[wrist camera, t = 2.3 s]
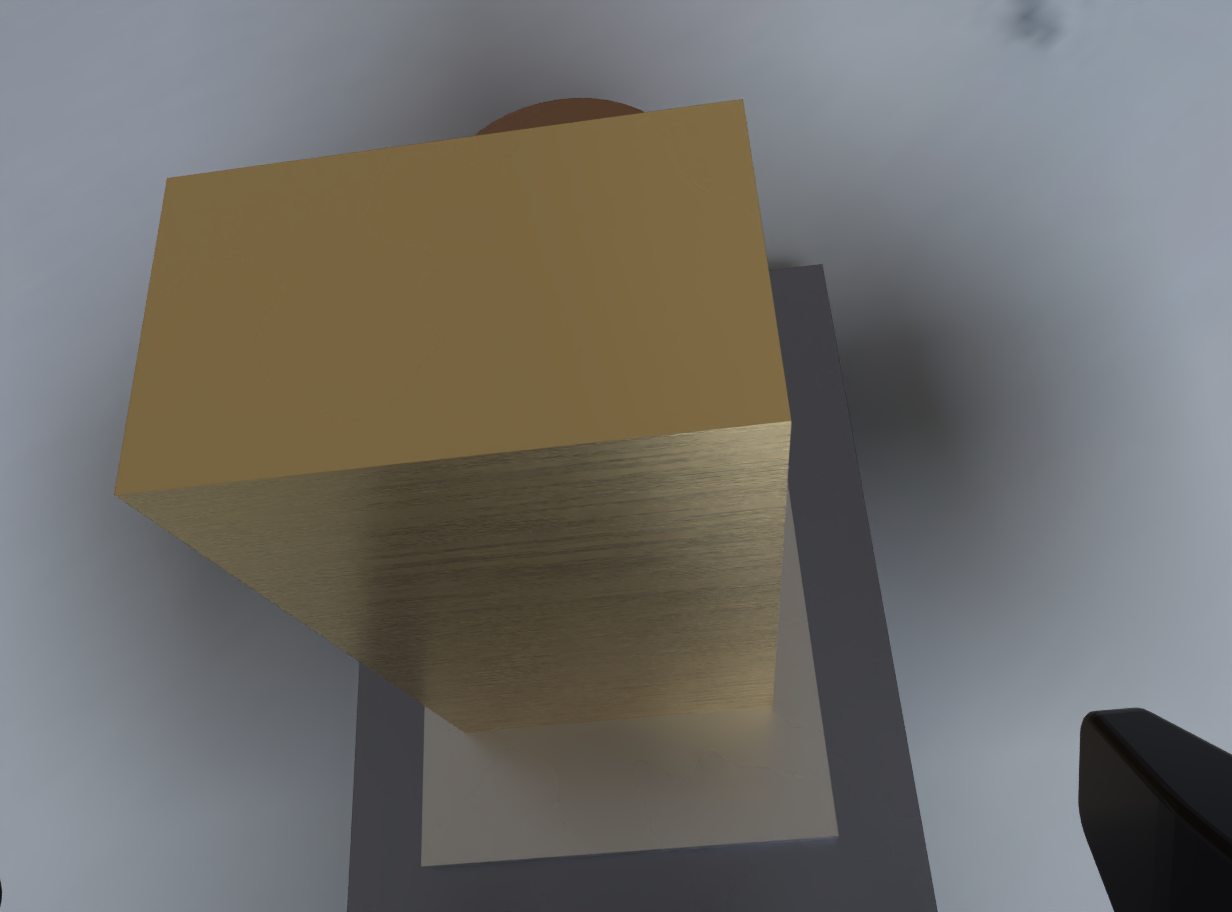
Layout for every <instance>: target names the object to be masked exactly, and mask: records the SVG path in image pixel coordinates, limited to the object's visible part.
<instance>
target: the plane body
mask: <svg viewBox="0 0 1232 912" xmlns="http://www.w3.org/2000/svg"><path fill="white" fill-rule="evenodd" d="M638 113H645V112H643V111H641V110H639V109H636V108H633V107H631V106H628V105H625V104H622V103H617V102H613V101H608V100H601V99H592V98H571V99H560V100H554V101H548V102H543V103H539V104H536V105H532V106H529V107H525V108H523V109H520V110H518V111H515V112H513V113H510V114H508V115H506V116H504V117H503V118H501V119H499V120H497V121H495V122H493V123H492V124H490V125H489V126H487V127H486V128H484V129H483V130H481V131H480V132H479V133H477V134H476V135H475V136H478V135H485V134H493V133H500V132H507V131H514V130H522V129H529V128H536V127H544V126H551V125H558V124H565V123H573V122H580V121H587V120H594V119H602V118H609V117H616V116H624V115H631V114H638ZM769 276H770V282H771V289H772V296H773V302H774V309H775V316H776V322H777V329H778V336H779V342H780V349H781V356H782V362H783V369H784V376H785V382H786V389H787V396H788V402H789V409H790V416H791V433H790V448H789V463H788V479H787V494H786V509H785V524H784V540H783V555H782V570H781V586H780V601H779V616H778V631H777V647H776V662H775V677H774V692H773V706H771V707H759V708H747V709H735V710H724V711H712V712H700V713H688V714H676V715H665V716H653V717H641V718H629V719H617V720H606V721H594V722H582V723H570V724H558V725H547V726H535V727H523V728H511V729H499V730H488V731H476V732H462V731H461V730H459V729H458V728H456V727H455V726H453V725H452V724H451V723H449V722H448V721H446V720H445V719H443V718H442V717H440V716H439V715H437V714H436V713H434V712H433V711H431V710H430V709H428V708H427V707H426V706H424V705H423V704H421V703H420V702H418V701H417V700H415V699H414V698H412V697H411V696H409V695H408V694H406V693H405V692H403V691H402V690H401V689H399V688H398V687H396V686H395V685H393V684H392V683H390V682H389V681H387V680H386V679H384V678H383V677H381V676H380V675H378V674H377V673H376V672H374V671H373V670H371V669H370V668H368V667H367V666H365V665H364V664H362V663H361V662H360V667H359V687H358V707H357V727H356V747H355V767H354V787H353V807H352V827H351V847H350V867H349V887H348V907H347V912H938V911H937V906H936V900H935V895H934V889H933V883H932V878H931V872H930V866H929V861H928V855H927V850H926V844H925V838H924V833H923V827H922V822H921V816H920V810H919V805H918V799H917V793H916V788H915V782H914V777H913V771H912V765H911V760H910V754H909V749H908V743H907V737H906V732H905V726H904V720H903V715H902V709H901V704H900V698H899V692H898V687H897V681H896V675H895V670H894V664H893V659H892V653H891V647H890V642H889V636H888V631H887V625H886V619H885V614H884V608H883V602H882V597H881V591H880V586H879V580H878V574H877V569H876V563H875V558H874V552H873V546H872V541H871V535H870V529H869V524H868V518H867V513H866V507H865V501H864V496H863V490H862V485H861V479H860V473H859V468H858V462H857V456H856V451H855V445H854V440H853V434H852V428H851V423H850V417H849V412H848V406H847V400H846V395H845V389H844V383H843V378H842V372H841V367H840V361H839V355H838V350H837V344H836V339H835V333H834V327H833V322H832V316H831V310H830V305H829V299H828V294H827V288H826V282H825V277H824V271H823V266H822V264H819V265H811V266H803V267H795V268H787V269H778V270H770V271H769Z"/></svg>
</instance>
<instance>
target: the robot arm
mask: <svg viewBox="0 0 1232 912" xmlns="http://www.w3.org/2000/svg"><path fill="white" fill-rule="evenodd" d="M1078 804H1079V813H1080V818H1081V823H1082V827H1083V831H1084V834H1085V837H1086V839H1087V842H1088V845H1089V847H1090V850H1091V852H1092V855H1093V858H1094V860H1095V863H1096V866H1097V868H1098V871H1099V873H1100V876H1101V879H1102V881H1103V884H1104V886H1105V889H1106V892H1107V894H1108V897H1109V899H1110V902H1111V905H1112V907H1113V910H1114V912H1232V754H1230V753H1228V752H1226V751H1224V750H1222V749H1220V748H1218V747H1216V746H1215V745H1213V744H1211V743H1209V742H1207V741H1205V740H1203V739H1201V738H1199V737H1197V736H1195V735H1194V734H1192V733H1190V732H1188V731H1186V730H1184V729H1182V728H1180V727H1178V726H1176V725H1175V724H1173V723H1171V722H1169V721H1167V720H1165V719H1163V718H1161V717H1159V716H1157V715H1156V714H1154V713H1152V712H1150V711H1147V710H1145V709H1142V708H1125V709H1113V710H1101V711H1092V712H1090V713H1088V714H1087V715H1086V716H1085V717H1084V719H1083V722H1082V725H1081V730H1080V759H1079V794H1078ZM1 900H2V887H1V881H0V905H1Z"/></svg>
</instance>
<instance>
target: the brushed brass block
mask: <svg viewBox="0 0 1232 912" xmlns="http://www.w3.org/2000/svg"><path fill="white" fill-rule="evenodd" d="M790 433H791V416H790V409H789V402H788V396H787V389H786V382H785V376H784V369H783V362H782V356H781V349H780V342H779V336H778V329H777V322H776V316H775V309H774V302H773V296H772V289H771V282H770V276H769V269H768V262H767V256H766V249H765V242H764V236H763V229H762V222H761V216H760V209H759V202H758V196H757V189H756V182H755V176H754V169H753V162H752V156H751V149H750V142H749V136H748V129H747V122H746V116H745V109H744V102H743V99H740V100H733V101H726V102H718V103H711V104H704V105H696V106H689V107H682V108H675V109H667V110H660V111H653V112H645V113H638V114H631V115H624V116H616V117H609V118H602V119H594V120H587V121H580V122H573V123H565V124H558V125H551V126H544V127H536V128H529V129H522V130H514V131H507V132H500V133H493V134H485V135H478V136H471V137H463V138H456V139H449V140H442V141H434V142H427V143H420V144H413V145H405V146H398V147H391V148H383V149H376V150H369V151H362V152H354V153H347V154H340V155H332V156H325V157H318V158H311V159H303V160H296V161H289V162H281V163H274V164H267V165H260V166H252V167H245V168H238V169H231V170H223V171H216V172H209V173H201V174H194V175H187V176H180V177H172V178H167V182H166V188H165V194H164V200H163V206H162V212H161V218H160V224H159V230H158V236H157V242H156V248H155V253H154V259H153V265H152V271H151V277H150V283H149V289H148V295H147V301H146V307H145V313H144V319H143V325H142V331H141V337H140V343H139V349H138V355H137V361H136V367H135V373H134V379H133V385H132V391H131V397H130V403H129V409H128V415H127V421H126V427H125V433H124V439H123V445H122V451H121V457H120V463H119V469H118V475H117V481H116V487H115V493H114V495H115V496H117V497H118V498H120V499H121V500H123V501H124V502H126V503H127V504H129V505H130V506H131V507H133V508H134V509H136V510H137V511H139V512H140V513H142V514H143V515H145V516H146V517H148V518H149V519H151V520H152V521H154V522H155V523H156V524H158V525H159V526H161V527H162V528H164V529H165V530H167V531H168V532H170V533H171V534H173V535H174V536H176V537H177V538H179V539H180V540H181V541H183V542H184V543H186V544H187V545H189V546H190V547H192V548H193V549H195V550H196V551H198V552H199V553H201V554H202V555H204V556H205V557H206V558H208V559H209V560H211V561H212V562H214V563H215V564H217V565H218V566H220V567H221V568H223V569H224V570H226V571H227V572H229V573H230V574H231V575H233V576H234V577H236V578H237V579H239V580H240V581H242V582H243V583H245V584H246V585H248V586H249V587H251V588H252V589H253V590H255V591H256V592H258V593H259V594H261V595H262V596H264V597H265V598H267V599H268V600H270V601H271V602H273V603H274V604H276V605H277V606H278V607H280V608H281V609H283V610H284V611H286V612H287V613H289V614H290V615H292V616H293V617H295V618H296V619H298V620H299V621H301V622H302V623H303V624H305V625H306V626H308V627H309V628H311V629H312V630H314V631H315V632H317V633H318V634H320V635H321V636H323V637H324V638H326V639H327V640H328V641H330V642H331V643H333V644H334V645H336V646H337V647H339V648H340V649H342V650H343V651H345V652H346V653H348V654H349V655H351V656H352V657H353V658H355V659H356V660H358V661H359V662H361V663H362V664H364V665H365V666H367V667H368V668H370V669H371V670H373V671H374V672H376V673H377V674H378V675H380V676H381V677H383V678H384V679H386V680H387V681H389V682H390V683H392V684H393V685H395V686H396V687H398V688H399V689H401V690H402V691H403V692H405V693H406V694H408V695H409V696H411V697H412V698H414V699H415V700H417V701H418V702H420V703H421V704H423V705H424V706H426V707H427V708H428V709H430V710H431V711H433V712H434V713H436V714H437V715H439V716H440V717H442V718H443V719H445V720H446V721H448V722H449V723H451V724H452V725H453V726H455V727H456V728H458V729H459V730H461V731H462V732H476V731H488V730H499V729H511V728H523V727H535V726H547V725H558V724H570V723H582V722H594V721H606V720H617V719H629V718H641V717H653V716H665V715H676V714H688V713H700V712H712V711H724V710H735V709H747V708H759V707H771V706H773V692H774V677H775V662H776V647H777V631H778V616H779V601H780V586H781V570H782V555H783V540H784V524H785V509H786V494H787V479H788V463H789V448H790Z"/></svg>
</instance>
